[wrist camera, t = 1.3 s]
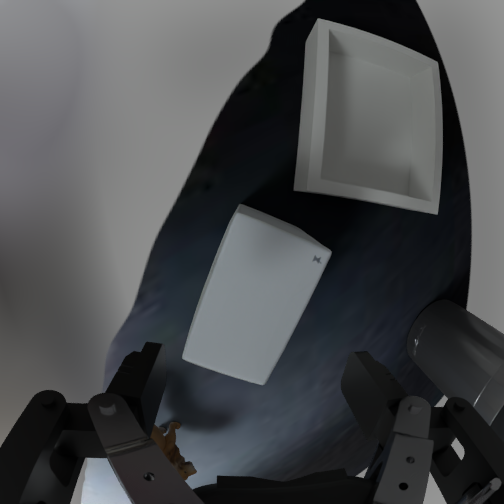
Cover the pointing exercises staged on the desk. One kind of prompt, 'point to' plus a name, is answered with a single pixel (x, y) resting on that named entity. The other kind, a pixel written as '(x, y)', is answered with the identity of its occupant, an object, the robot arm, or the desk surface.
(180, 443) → the desk surface
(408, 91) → the tray
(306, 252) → the skincare box
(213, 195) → the desk surface
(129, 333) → the desk surface
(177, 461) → the lion figurine
